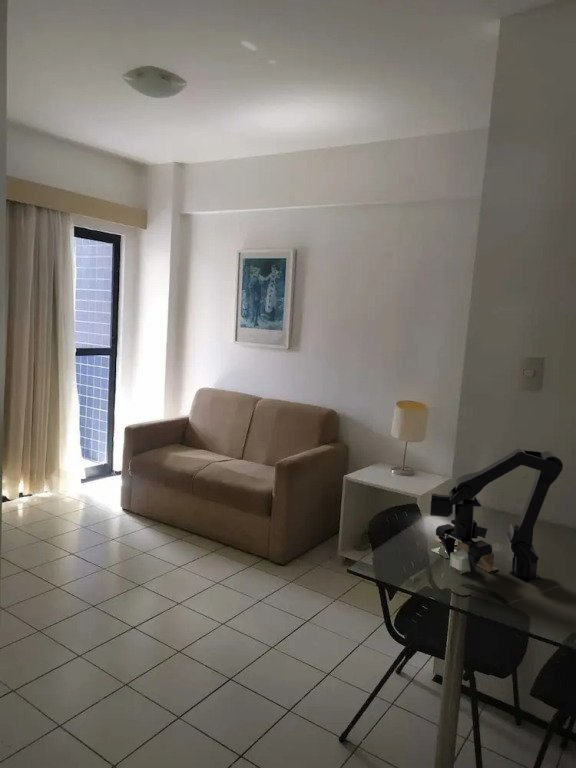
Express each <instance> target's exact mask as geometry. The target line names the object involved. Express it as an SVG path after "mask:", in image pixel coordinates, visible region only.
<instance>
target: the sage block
mask: <svg viewBox="0 0 576 768" xmlns="http://www.w3.org/2000/svg"><path fill="white" fill-rule="evenodd" d="M450 566H452V567H454V568H456V569H458V570H461V571H462V570H465V569H469V568H470V566H469V560H468V552H466V551H464V550H459V551H455V552H452V553H450V559H449V567H450Z"/></svg>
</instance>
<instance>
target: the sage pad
mask: <svg viewBox="0 0 576 768" xmlns="http://www.w3.org/2000/svg"><path fill="white" fill-rule="evenodd" d="M440 547H441V546H439V547H436V548H431V552H433V553H434V552H435V553H434V554H436V553H438V554H439V552H438V551H439V549H440ZM455 551H457V549H455V548H454V552H455ZM445 552H446V550H445ZM446 553H447V552H446ZM438 554H437V555H438Z"/></svg>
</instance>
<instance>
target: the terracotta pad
mask: <svg viewBox="0 0 576 768" xmlns="http://www.w3.org/2000/svg"><path fill="white" fill-rule="evenodd" d="M434 540H435V541H436V542H438V543H440V542H441V540H440V539H439V537H437V538H435V539H434ZM440 544H442V542H441V543H440ZM455 545H457V544H455Z"/></svg>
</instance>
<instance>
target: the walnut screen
mask: <svg viewBox="0 0 576 768" xmlns="http://www.w3.org/2000/svg"><path fill="white" fill-rule="evenodd" d="M468 549H469V546H468V545H466V544H464V543H462V542H460V541H458V543H457V546H456V550H457V551H459V550H464V551H466V552H468V553H469V550H468ZM494 561H495V553H494V552H492V554H488V555H485V556H482V557H481V558H480V560H479V562H478V564H479V565H481V566H482V567H484V568H485V569H487V570H488V571H495V570H498V571H499V567H496V566H494ZM495 572H496V571H495Z"/></svg>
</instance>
